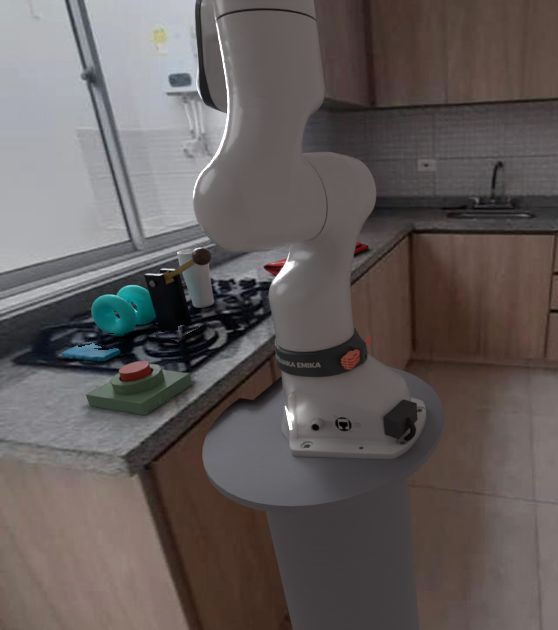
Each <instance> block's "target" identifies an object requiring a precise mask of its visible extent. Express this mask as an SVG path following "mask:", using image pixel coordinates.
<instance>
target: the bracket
mask: <svg viewBox="0 0 558 630" xmlns="http://www.w3.org/2000/svg"><path fill="white" fill-rule="evenodd" d="M175 269H176V268H161V269H159V273H145V274H143V276H144V280H145V283H146V287H147V290H148V291H149V294H150V297H151V301H152V304H153V308H154V311H155V315H156V317H155V319H156V320H157V325H158V328H159V330H160V332H165V331H170V330H171V331H175V330H178V326H180V325H188V324H192V322H193V321H192V317H191V312H190V308H189V305H188V300H187V297H186V292H185V288H184V285H183V282H182V277H181V273H180V274H178V275H176V276H175V277H173V279H174V282H172V283H170V284H169V285H166V281H165V277H164V274H162V273H165V272H169V273H170V272H172V271H173V270H175ZM203 323H204V324H202V325H201V326H202V327H200V326H199V327H200V328H198V329H196V330H194V331H192V332H190V333H188V334H186V335H185V340H187V339H189V338H191V337H193V336H195V335H196V334H198V333H200V332H203V331H204V330H206V329H207V328H208V327H207V324H206V323H205V322H203ZM147 341H148V342H154V343H164V344H172V345H174V344H175V345H177V344H179V343H178V342H177V341H175V340H171V339H161V338H157V337H156V335H155V332H153V333H151V334H149V335H147Z"/></svg>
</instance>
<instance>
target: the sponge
mask: <svg viewBox="0 0 558 630" xmlns="http://www.w3.org/2000/svg"><path fill="white" fill-rule="evenodd" d="M86 343H90V342H86ZM91 343H92V344H90V345H85V346H82V347H78V345H76V346H75V345H74V346H73V347H71V348H69V349H68V348H67V350H64V351H63V352H61V355H62V357H63V358H65V359H70V360H73V359H74V360H85V361H90V362H91V361H92V362H106V361H108V360H110V359H112V358H115V357H117V356H119V355H120V354H121V353H122V351H121V350H120V349H119V348H117V347H112V348H113V349H109V350H98V349H94V348H102V347H101V346H98V345H95V344H96V343H93V342H91Z"/></svg>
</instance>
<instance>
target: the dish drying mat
mask: <svg viewBox="0 0 558 630" xmlns="http://www.w3.org/2000/svg"><path fill="white" fill-rule="evenodd" d="M368 249H369V245H368V244H366V243H361V242H360V241H357V244H356V248H355V252H354V255H356V254H359V253H361V252H364V251H367V250H368ZM286 260H287V257H286V258H283V259H281V260H276V261H274V262H270V263H267V264H264V265H263V267H262V268H263V269H264V271H266V272H268V273H269V274H272V275H276V276H277V274H278V273H279V272H280V271H281V269H282V268H283V266H284V264H285V262H286Z"/></svg>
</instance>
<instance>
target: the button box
mask: <svg viewBox="0 0 558 630" xmlns="http://www.w3.org/2000/svg"><path fill="white" fill-rule="evenodd" d="M149 365H150V368H151V371H152V373H151V374H150V375H148V376H146V377H145V378H142V379H139V380H136V381H130V382H123V381H122V379H121V376H120V373H119V372H117V373H116V374H114V375H113V376H112V377H111V379H110V381H108V382H106V383H104V384H102V385H101V386H99V387H97V388H95V389H94V390H91V391H90V392H87V393H86V394H85V397H86V399H87V403H88V405H89V407H95V408H100V409H108V410H113V411H117V412H124V413H130V414H136V415H140V416H141V415H142V416H146V415H148V414H150V413H152V411H154V410H155V409H157V408H159V407H160V406H161V405H163V404H164V403H166V402H168V401H169V400H170V399H173V398H174V397H175V396H177V395H178V394H180V393H181V392H183V391H185V390H186V389H187V388H189V387H190V386H191V385H193V381H192V376H191V373H190V372H184V371H183V372H182V371H176V370H168V369H163V368H162V367H161V366H160V364H155V363H149Z"/></svg>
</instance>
